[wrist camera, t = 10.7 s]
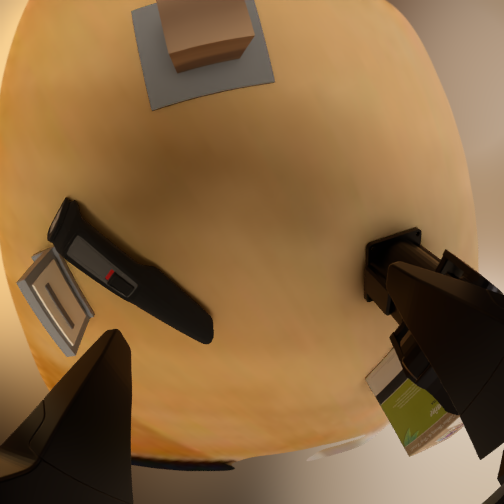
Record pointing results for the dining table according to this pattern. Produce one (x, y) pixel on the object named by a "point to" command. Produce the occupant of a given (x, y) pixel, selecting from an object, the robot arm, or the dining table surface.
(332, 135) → the dining table surface
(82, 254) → the electric trimmer
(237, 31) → the walnut block
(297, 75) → the dining table surface
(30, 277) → the gray angled bracket
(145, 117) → the dining table surface
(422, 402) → the tea box
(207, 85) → the pad
